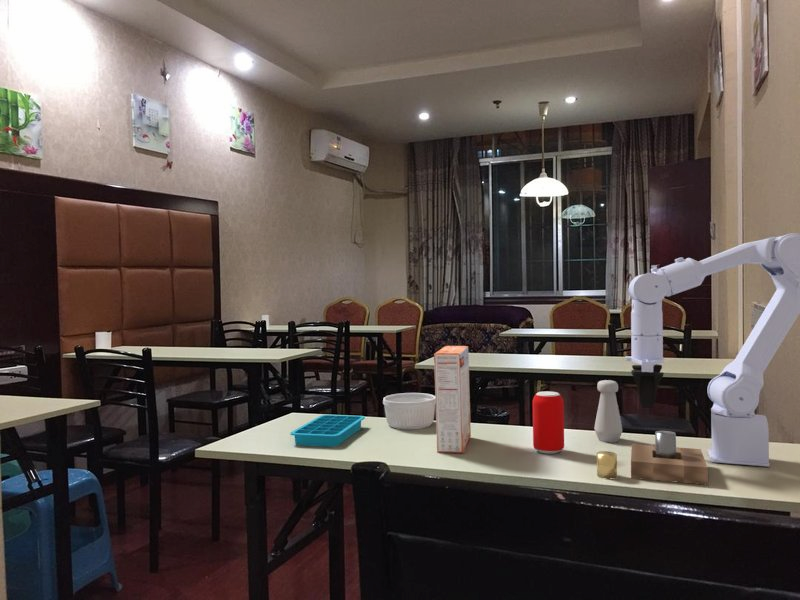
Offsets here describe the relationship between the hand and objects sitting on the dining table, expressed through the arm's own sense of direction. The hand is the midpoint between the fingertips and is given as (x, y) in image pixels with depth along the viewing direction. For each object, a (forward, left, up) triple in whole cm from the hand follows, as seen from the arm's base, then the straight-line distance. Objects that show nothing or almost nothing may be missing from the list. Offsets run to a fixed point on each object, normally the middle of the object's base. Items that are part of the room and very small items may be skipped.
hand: (647, 404), depth 117 cm
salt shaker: (+8, -11, -11) cm, 17 cm away
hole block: (-3, +9, -10) cm, 14 cm away
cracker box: (+39, +3, -11) cm, 40 cm away
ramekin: (+55, -12, -11) cm, 57 cm away
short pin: (+7, +15, -11) cm, 20 cm away
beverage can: (+19, +2, -11) cm, 22 cm away
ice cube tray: (+69, +4, -11) cm, 70 cm away
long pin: (-3, +9, -10) cm, 14 cm away
